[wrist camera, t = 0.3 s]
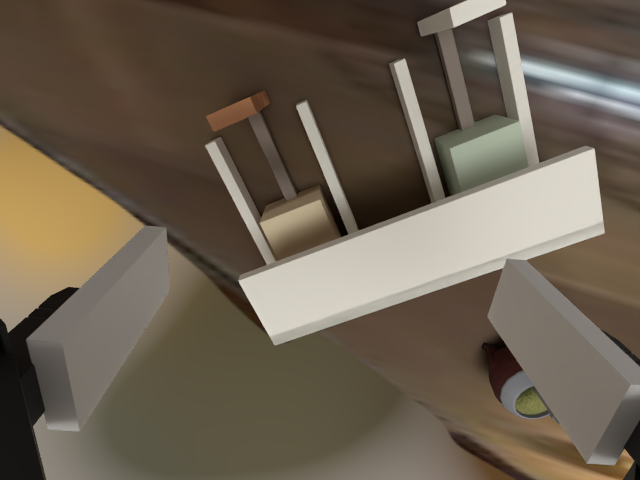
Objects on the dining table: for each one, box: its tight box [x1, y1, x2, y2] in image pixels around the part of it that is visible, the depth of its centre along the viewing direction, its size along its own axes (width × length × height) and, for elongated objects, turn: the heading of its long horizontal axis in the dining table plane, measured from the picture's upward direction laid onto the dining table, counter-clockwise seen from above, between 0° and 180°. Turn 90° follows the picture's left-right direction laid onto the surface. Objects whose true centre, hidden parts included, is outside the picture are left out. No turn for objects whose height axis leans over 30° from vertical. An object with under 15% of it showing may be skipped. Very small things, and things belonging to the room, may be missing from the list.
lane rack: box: [205, 13, 605, 345], centre depth 34 cm, size 17×28×11 cm, turn 112°
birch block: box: [206, 90, 341, 261], centre depth 35 cm, size 16×6×9 cm, turn 22°
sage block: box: [417, 0, 529, 196], centre depth 33 cm, size 16×6×9 cm, turn 22°
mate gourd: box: [482, 343, 560, 424], centre depth 42 cm, size 8×8×15 cm
